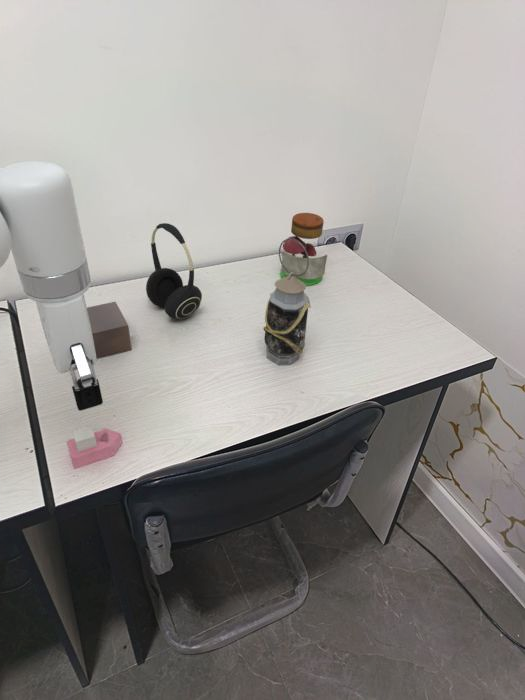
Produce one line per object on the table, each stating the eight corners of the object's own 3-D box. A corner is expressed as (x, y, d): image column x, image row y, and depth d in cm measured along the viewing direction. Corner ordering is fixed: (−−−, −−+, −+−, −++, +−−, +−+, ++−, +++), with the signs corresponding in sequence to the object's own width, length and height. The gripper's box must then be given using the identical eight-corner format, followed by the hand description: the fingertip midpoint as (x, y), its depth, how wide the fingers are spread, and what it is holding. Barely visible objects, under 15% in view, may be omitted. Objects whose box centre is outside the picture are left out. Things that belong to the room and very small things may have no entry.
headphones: (172, 290, 115) (167, 208, 103) (211, 320, 107) (210, 234, 94) (140, 302, 110) (130, 217, 98) (177, 334, 102) (172, 245, 90)
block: (84, 362, 93) (79, 336, 90) (74, 335, 99) (69, 311, 96) (131, 350, 97) (128, 325, 93) (118, 325, 103) (115, 301, 99)
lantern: (311, 356, 99) (330, 241, 83) (285, 374, 94) (299, 256, 79) (279, 337, 103) (291, 224, 88) (252, 353, 98) (259, 237, 83)
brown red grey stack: (270, 264, 128) (274, 209, 118) (317, 263, 130) (325, 208, 121) (279, 288, 119) (285, 230, 109) (329, 286, 121) (339, 229, 112)
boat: (74, 469, 74) (68, 448, 71) (69, 451, 77) (63, 430, 74) (125, 451, 77) (122, 430, 74) (119, 435, 80) (115, 414, 77)
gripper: (10, 249, 62) (42, 354, 72) (33, 322, 50) (67, 435, 61) (72, 238, 65) (94, 341, 75) (107, 305, 53) (127, 416, 64)
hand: (82, 383), depth 68 cm, fingers open, 9 cm apart
